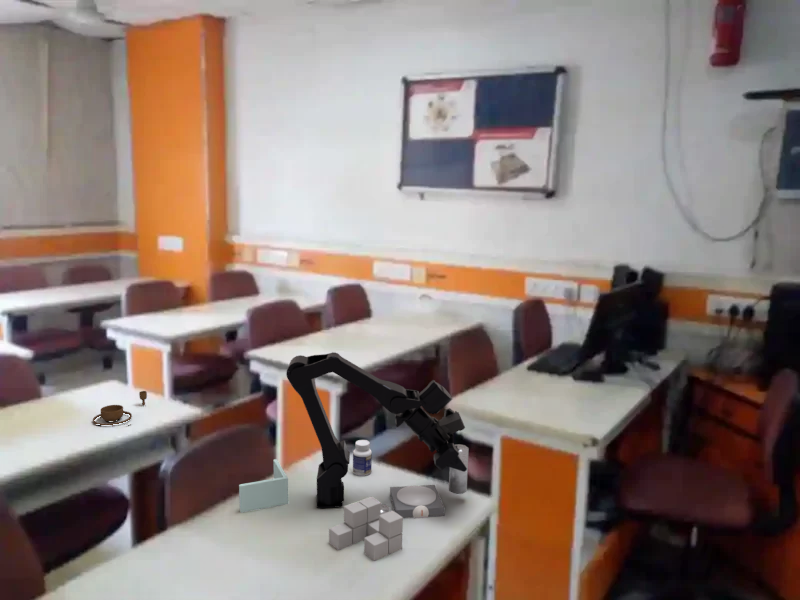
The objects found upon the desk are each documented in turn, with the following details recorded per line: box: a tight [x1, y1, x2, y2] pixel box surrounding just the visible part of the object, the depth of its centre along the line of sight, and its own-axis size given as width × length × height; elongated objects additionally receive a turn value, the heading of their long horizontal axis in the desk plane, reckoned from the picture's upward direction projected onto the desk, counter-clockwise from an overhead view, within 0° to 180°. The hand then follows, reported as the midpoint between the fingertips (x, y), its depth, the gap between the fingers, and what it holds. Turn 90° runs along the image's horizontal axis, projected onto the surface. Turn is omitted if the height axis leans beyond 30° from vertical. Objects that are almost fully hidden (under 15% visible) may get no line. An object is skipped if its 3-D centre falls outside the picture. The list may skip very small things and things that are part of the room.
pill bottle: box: [352, 439, 373, 477], centre depth 182 cm, size 5×5×9 cm
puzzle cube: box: [328, 496, 404, 562], centre depth 146 cm, size 12×12×8 cm
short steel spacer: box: [381, 503, 390, 515], centre depth 158 cm, size 4×4×3 cm
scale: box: [389, 484, 446, 519], centre depth 165 cm, size 12×12×4 cm
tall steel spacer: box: [448, 443, 470, 495], centre depth 166 cm, size 5×5×12 cm
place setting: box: [92, 390, 148, 425], centre depth 219 cm, size 18×20×6 cm
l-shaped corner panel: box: [238, 458, 289, 514], centre depth 167 cm, size 12×12×8 cm
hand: (464, 465), depth 166 cm, fingers closed on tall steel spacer, 5 cm apart
